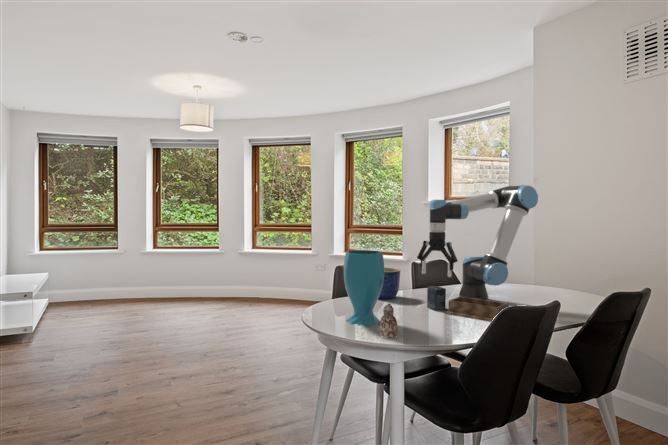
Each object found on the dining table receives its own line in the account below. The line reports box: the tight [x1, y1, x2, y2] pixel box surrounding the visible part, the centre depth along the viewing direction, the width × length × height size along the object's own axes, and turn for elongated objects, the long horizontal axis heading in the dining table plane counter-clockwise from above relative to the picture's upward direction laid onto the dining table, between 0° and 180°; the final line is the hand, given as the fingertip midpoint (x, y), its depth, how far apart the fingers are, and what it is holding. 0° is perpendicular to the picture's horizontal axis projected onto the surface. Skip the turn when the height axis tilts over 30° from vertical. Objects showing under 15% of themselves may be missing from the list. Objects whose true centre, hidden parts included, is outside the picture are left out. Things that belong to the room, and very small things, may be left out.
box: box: [426, 285, 447, 312], centre depth 218 cm, size 8×6×11 cm
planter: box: [378, 266, 401, 300], centre depth 244 cm, size 17×17×15 cm
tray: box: [444, 296, 509, 322], centre depth 207 cm, size 25×16×6 cm, turn 50°
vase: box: [343, 249, 385, 326], centre depth 194 cm, size 17×17×30 cm
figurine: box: [378, 303, 399, 338], centre depth 173 cm, size 7×7×12 cm
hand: (436, 275), depth 217 cm, fingers open, 13 cm apart
